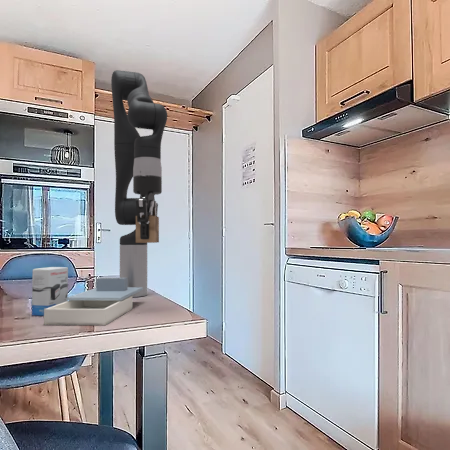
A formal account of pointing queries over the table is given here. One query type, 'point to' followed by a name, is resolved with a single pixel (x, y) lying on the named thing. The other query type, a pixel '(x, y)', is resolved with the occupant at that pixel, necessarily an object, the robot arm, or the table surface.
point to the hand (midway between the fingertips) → (147, 238)
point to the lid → (108, 290)
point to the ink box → (48, 288)
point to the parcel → (152, 231)
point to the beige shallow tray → (86, 312)
